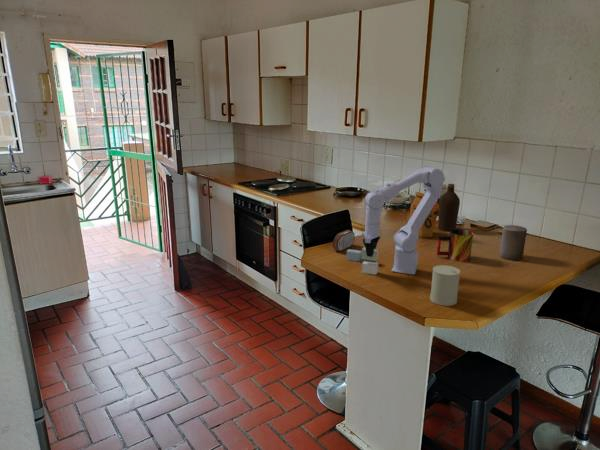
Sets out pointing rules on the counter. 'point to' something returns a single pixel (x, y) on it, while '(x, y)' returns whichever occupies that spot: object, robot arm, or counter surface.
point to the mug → (457, 245)
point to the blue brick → (353, 255)
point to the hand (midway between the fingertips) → (370, 254)
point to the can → (445, 285)
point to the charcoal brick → (367, 260)
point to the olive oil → (448, 210)
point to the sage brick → (364, 256)
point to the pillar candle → (513, 242)
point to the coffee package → (428, 224)
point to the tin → (343, 240)
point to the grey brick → (370, 268)
